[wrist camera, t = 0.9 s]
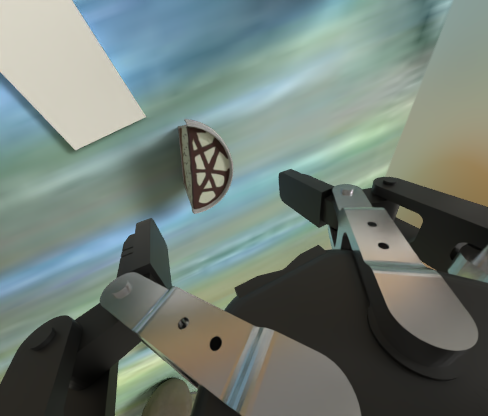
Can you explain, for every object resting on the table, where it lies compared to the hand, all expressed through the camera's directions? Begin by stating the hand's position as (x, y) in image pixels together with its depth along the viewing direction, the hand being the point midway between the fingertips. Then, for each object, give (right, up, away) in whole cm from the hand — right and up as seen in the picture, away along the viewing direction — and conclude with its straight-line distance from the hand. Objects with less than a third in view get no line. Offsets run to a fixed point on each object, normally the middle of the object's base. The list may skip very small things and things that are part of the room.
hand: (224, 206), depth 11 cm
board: (-20, +16, +10) cm, 27 cm away
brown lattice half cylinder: (-7, +9, +21) cm, 24 cm away
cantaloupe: (-25, -57, +49) cm, 79 cm away
